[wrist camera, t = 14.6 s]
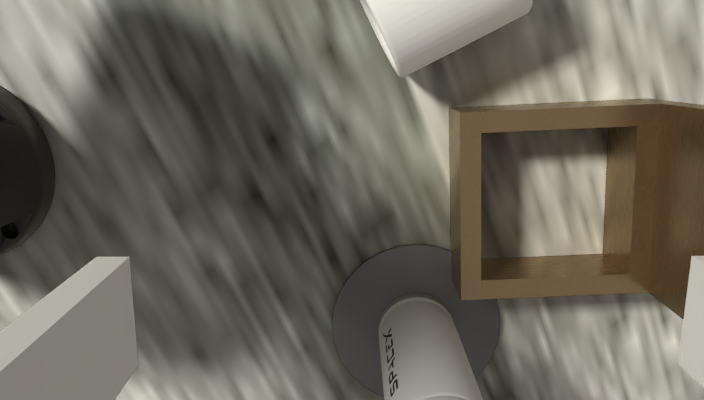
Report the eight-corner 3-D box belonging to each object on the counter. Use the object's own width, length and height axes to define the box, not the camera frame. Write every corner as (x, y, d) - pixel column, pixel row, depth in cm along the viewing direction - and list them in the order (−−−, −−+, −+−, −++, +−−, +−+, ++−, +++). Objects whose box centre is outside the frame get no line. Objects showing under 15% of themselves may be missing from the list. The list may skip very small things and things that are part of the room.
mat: (337, 402, 54) (337, 405, 53) (328, 248, 51) (328, 249, 50) (498, 395, 53) (499, 398, 53) (499, 240, 50) (500, 242, 50)
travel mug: (466, 346, 52) (533, 517, 32) (392, 370, 52) (414, 553, 33) (443, 280, 51) (498, 416, 31) (367, 306, 51) (375, 456, 32)
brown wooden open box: (450, 277, 51) (479, 341, 39) (448, 107, 48) (480, 121, 36) (638, 269, 51) (723, 331, 39) (648, 98, 48) (744, 109, 36)
